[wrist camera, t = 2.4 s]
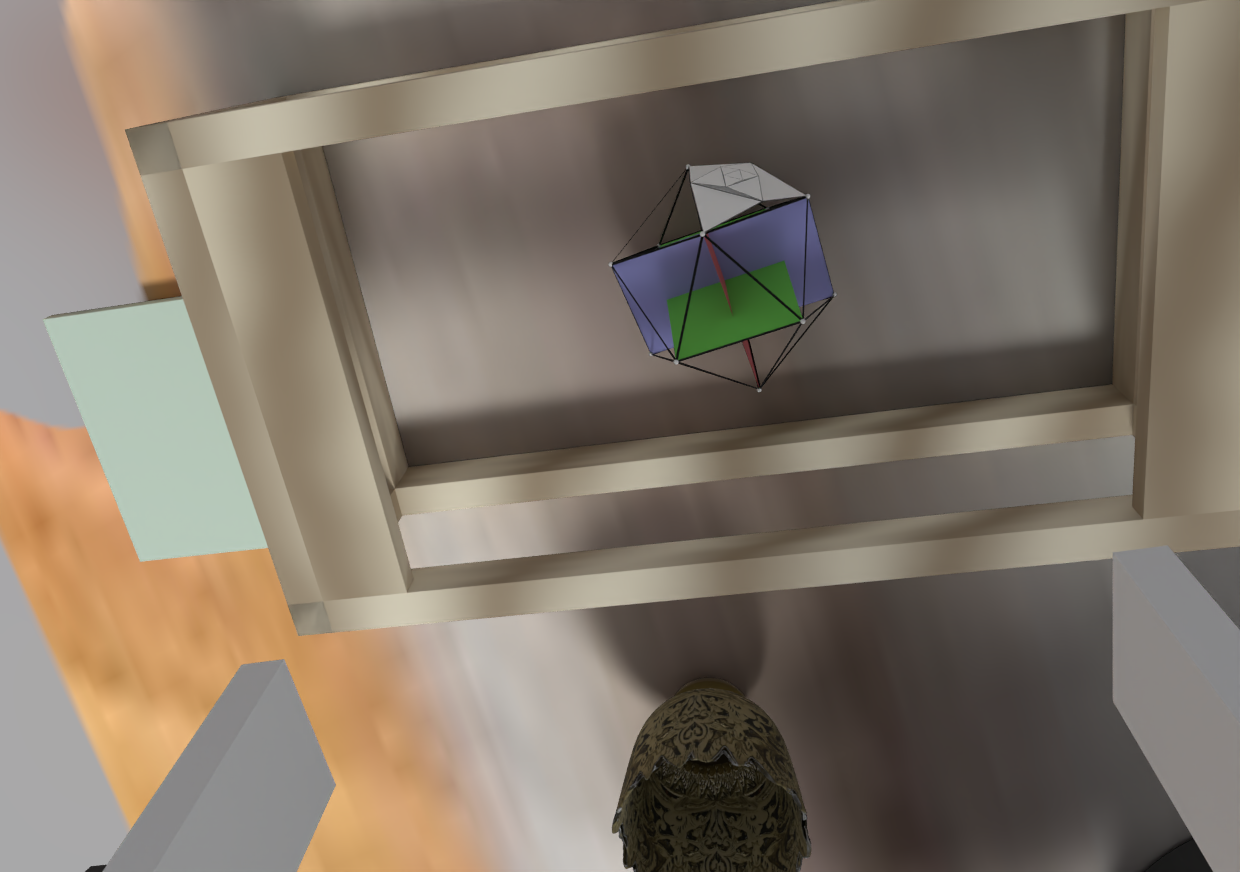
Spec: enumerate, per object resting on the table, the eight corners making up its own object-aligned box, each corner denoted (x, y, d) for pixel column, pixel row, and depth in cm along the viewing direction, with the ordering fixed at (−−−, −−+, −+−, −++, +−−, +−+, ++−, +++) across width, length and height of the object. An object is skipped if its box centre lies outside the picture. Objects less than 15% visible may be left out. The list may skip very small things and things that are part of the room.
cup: (614, 642, 43) (597, 772, 36) (783, 626, 42) (800, 756, 35) (641, 774, 46) (630, 918, 39) (800, 762, 45) (819, 908, 38)
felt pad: (313, 277, 37) (307, 281, 37) (385, 528, 42) (381, 535, 41) (52, 315, 39) (42, 319, 38) (147, 554, 43) (140, 561, 43)
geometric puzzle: (860, 378, 35) (850, 305, 28) (679, 433, 37) (623, 378, 29) (804, 204, 37) (780, 90, 30) (634, 262, 39) (570, 169, 31)
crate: (1167, -57, 31) (1363, -83, 22) (1144, 410, 37) (1289, 541, 28) (275, 97, 35) (124, 129, 26) (388, 495, 41) (298, 635, 32)
